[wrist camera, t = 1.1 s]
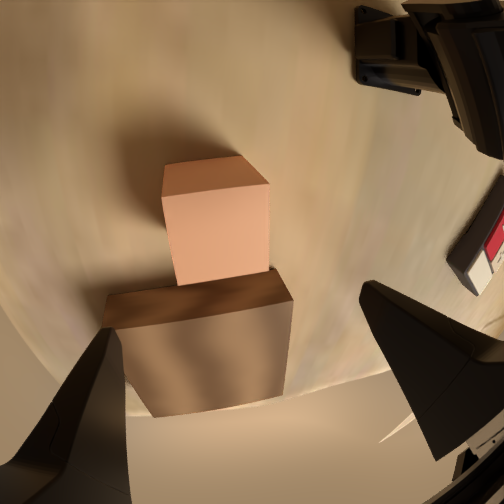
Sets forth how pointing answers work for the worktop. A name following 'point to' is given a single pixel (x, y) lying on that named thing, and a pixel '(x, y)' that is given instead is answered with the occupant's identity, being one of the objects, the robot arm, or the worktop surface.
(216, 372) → the walnut base
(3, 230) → the worktop surface
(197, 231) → the terracotta block
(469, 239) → the red white black box
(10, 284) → the worktop surface
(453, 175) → the worktop surface
